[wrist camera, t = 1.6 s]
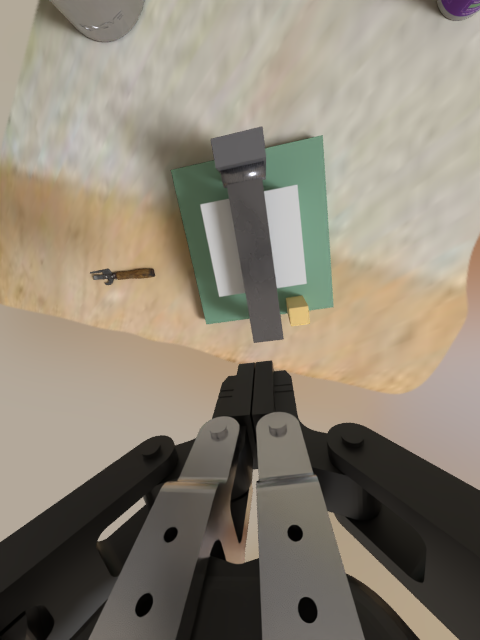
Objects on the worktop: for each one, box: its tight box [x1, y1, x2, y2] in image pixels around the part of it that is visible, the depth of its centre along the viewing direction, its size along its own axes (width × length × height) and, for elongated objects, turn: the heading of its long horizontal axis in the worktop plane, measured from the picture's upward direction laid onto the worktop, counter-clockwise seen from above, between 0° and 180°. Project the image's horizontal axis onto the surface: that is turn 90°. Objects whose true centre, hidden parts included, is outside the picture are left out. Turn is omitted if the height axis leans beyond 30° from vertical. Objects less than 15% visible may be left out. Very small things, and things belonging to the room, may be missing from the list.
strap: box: [221, 161, 283, 343], centre depth 26 cm, size 16×4×6 cm, turn 10°
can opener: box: [90, 269, 155, 285], centre depth 34 cm, size 9×2×1 cm, turn 89°
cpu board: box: [171, 127, 333, 326], centre depth 27 cm, size 18×16×10 cm
